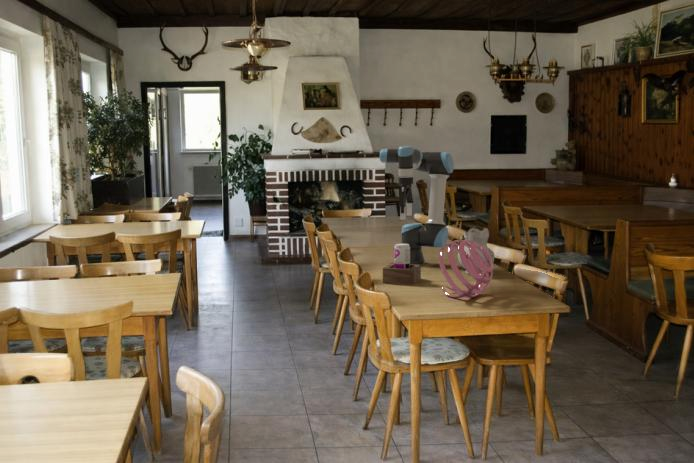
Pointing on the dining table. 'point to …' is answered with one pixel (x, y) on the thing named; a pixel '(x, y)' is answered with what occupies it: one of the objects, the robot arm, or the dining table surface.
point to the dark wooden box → (402, 274)
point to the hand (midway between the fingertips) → (406, 217)
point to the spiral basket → (467, 268)
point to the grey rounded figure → (480, 239)
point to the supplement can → (402, 256)
